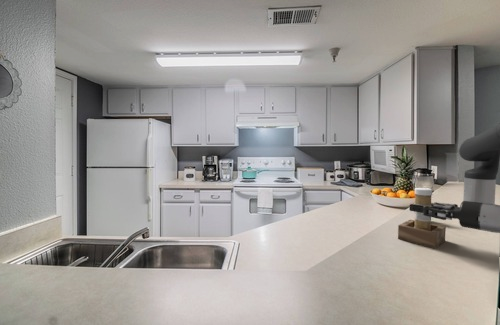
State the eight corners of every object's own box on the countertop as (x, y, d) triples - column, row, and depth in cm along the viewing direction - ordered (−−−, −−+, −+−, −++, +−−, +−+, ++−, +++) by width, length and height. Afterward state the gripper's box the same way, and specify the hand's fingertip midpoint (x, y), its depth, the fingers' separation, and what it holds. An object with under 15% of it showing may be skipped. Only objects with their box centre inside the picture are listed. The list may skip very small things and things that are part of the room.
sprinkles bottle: (416, 226, 81) (417, 186, 81) (433, 230, 78) (434, 188, 77) (411, 229, 79) (412, 188, 78) (428, 233, 75) (429, 190, 74)
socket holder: (409, 232, 86) (410, 219, 85) (445, 240, 78) (445, 226, 78) (397, 238, 80) (398, 225, 79) (435, 248, 72) (435, 233, 71)
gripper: (489, 199, 71) (420, 192, 84) (479, 207, 62) (404, 197, 76) (488, 225, 71) (420, 213, 85) (478, 236, 62) (403, 221, 76)
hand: (413, 206), depth 80 cm, fingers closed on sprinkles bottle, 4 cm apart
